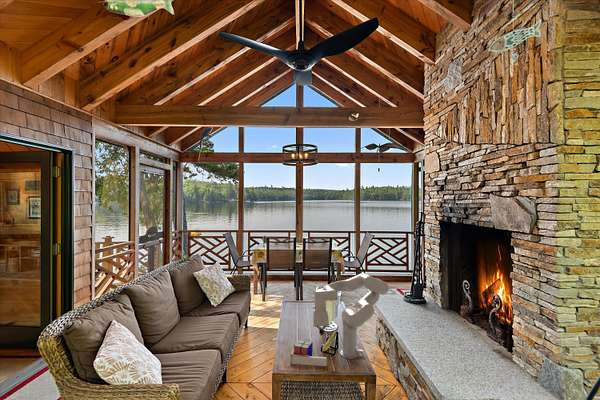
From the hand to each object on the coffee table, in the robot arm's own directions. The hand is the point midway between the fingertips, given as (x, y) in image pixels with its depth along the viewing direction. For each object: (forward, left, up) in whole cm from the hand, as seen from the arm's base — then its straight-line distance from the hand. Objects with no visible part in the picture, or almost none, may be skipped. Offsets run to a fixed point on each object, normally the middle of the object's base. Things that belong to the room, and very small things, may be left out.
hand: (321, 334), depth 230 cm
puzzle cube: (+12, +2, -16) cm, 20 cm away
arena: (+8, +3, -16) cm, 18 cm away
